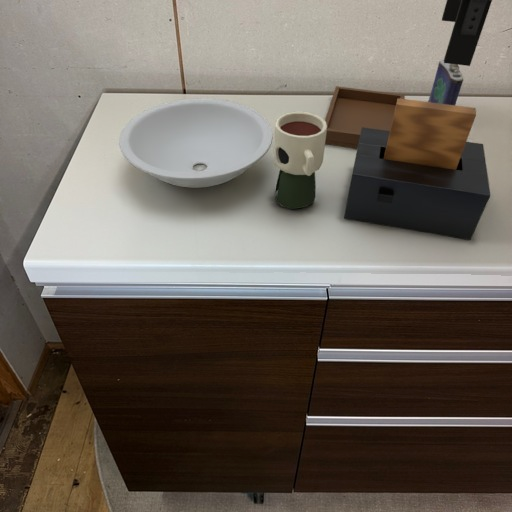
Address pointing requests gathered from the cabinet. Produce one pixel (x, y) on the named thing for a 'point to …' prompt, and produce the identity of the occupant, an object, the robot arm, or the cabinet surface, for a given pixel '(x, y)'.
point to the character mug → (298, 157)
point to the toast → (429, 133)
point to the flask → (446, 84)
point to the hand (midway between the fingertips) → (454, 40)
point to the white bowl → (196, 141)
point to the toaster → (417, 190)
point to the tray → (358, 114)
